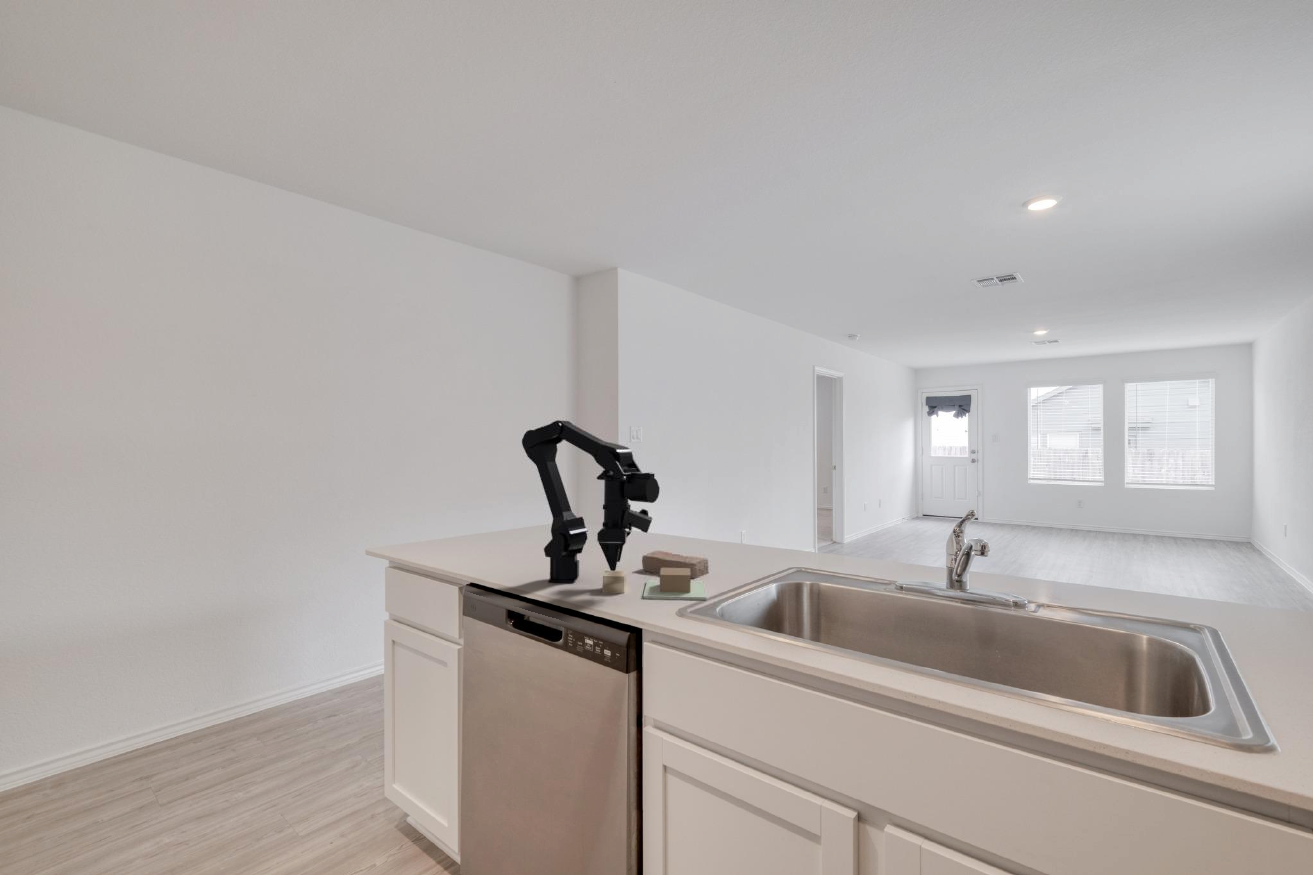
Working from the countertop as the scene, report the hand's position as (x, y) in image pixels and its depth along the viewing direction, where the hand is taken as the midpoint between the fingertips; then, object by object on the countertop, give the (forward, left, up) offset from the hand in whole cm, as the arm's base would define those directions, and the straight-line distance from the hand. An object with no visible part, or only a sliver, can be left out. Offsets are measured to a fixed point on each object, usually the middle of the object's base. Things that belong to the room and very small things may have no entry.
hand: (615, 566), depth 136 cm
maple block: (0, 0, -6) cm, 6 cm away
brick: (+14, +20, -6) cm, 25 cm away
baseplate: (+14, 0, -6) cm, 15 cm away
